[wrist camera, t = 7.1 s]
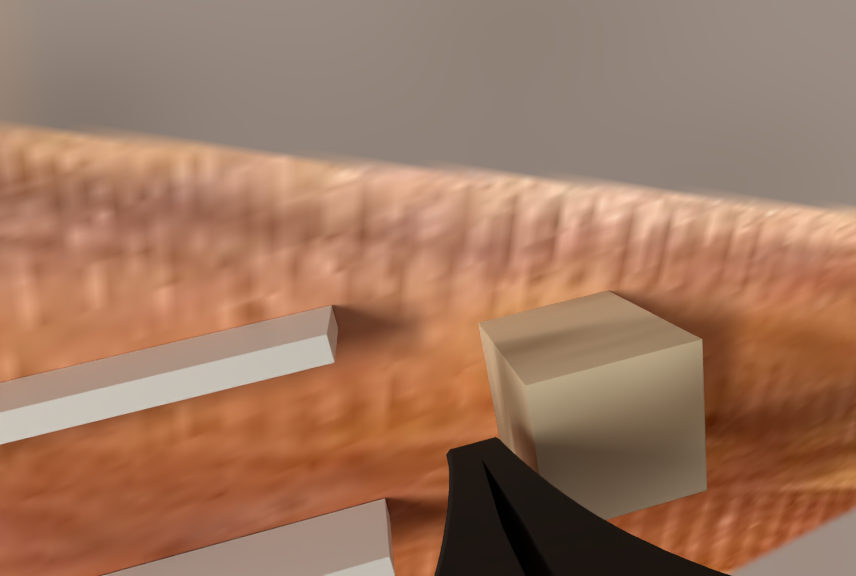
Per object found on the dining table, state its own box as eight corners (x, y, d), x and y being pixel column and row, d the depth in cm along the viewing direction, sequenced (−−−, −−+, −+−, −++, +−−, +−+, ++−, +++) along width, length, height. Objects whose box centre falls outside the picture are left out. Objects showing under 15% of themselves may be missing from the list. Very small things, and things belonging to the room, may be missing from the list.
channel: (389, 516, 16) (395, 576, 14) (-157, 667, 15) (-256, 764, 12) (331, 305, 14) (326, 334, 12) (-323, 458, 13) (-483, 527, 10)
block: (617, 405, 17) (706, 489, 12) (498, 437, 16) (549, 536, 12) (606, 290, 15) (702, 339, 11) (477, 321, 15) (525, 386, 11)
